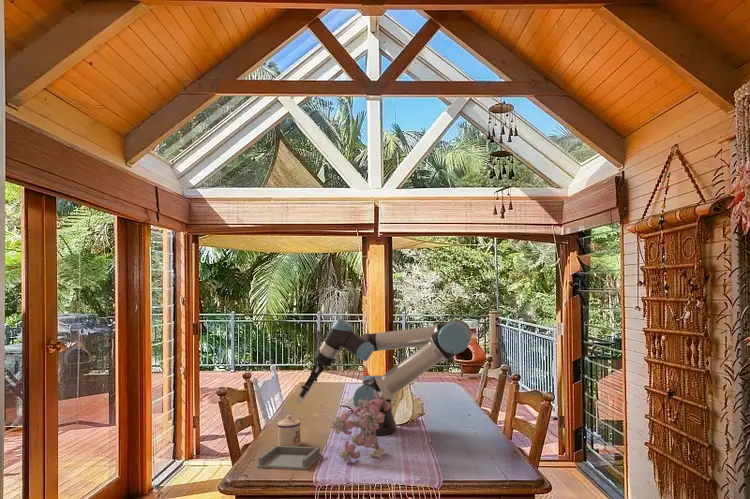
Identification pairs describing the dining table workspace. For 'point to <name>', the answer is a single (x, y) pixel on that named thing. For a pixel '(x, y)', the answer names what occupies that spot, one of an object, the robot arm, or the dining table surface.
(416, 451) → the dining table surface
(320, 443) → the dining table surface
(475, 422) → the dining table surface
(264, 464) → the grey shallow square tray
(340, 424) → the flower
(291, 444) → the teacup with lid
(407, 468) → the dining table surface
